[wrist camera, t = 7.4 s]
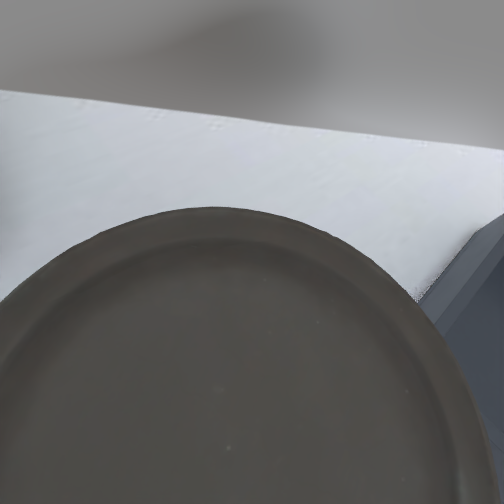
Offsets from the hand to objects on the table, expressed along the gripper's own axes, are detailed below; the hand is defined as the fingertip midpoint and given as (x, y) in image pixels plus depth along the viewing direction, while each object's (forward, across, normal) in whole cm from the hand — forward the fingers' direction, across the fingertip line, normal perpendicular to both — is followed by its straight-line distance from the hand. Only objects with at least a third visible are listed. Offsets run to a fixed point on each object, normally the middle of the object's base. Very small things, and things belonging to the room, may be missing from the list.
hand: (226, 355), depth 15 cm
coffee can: (+2, 0, -6) cm, 6 cm away
